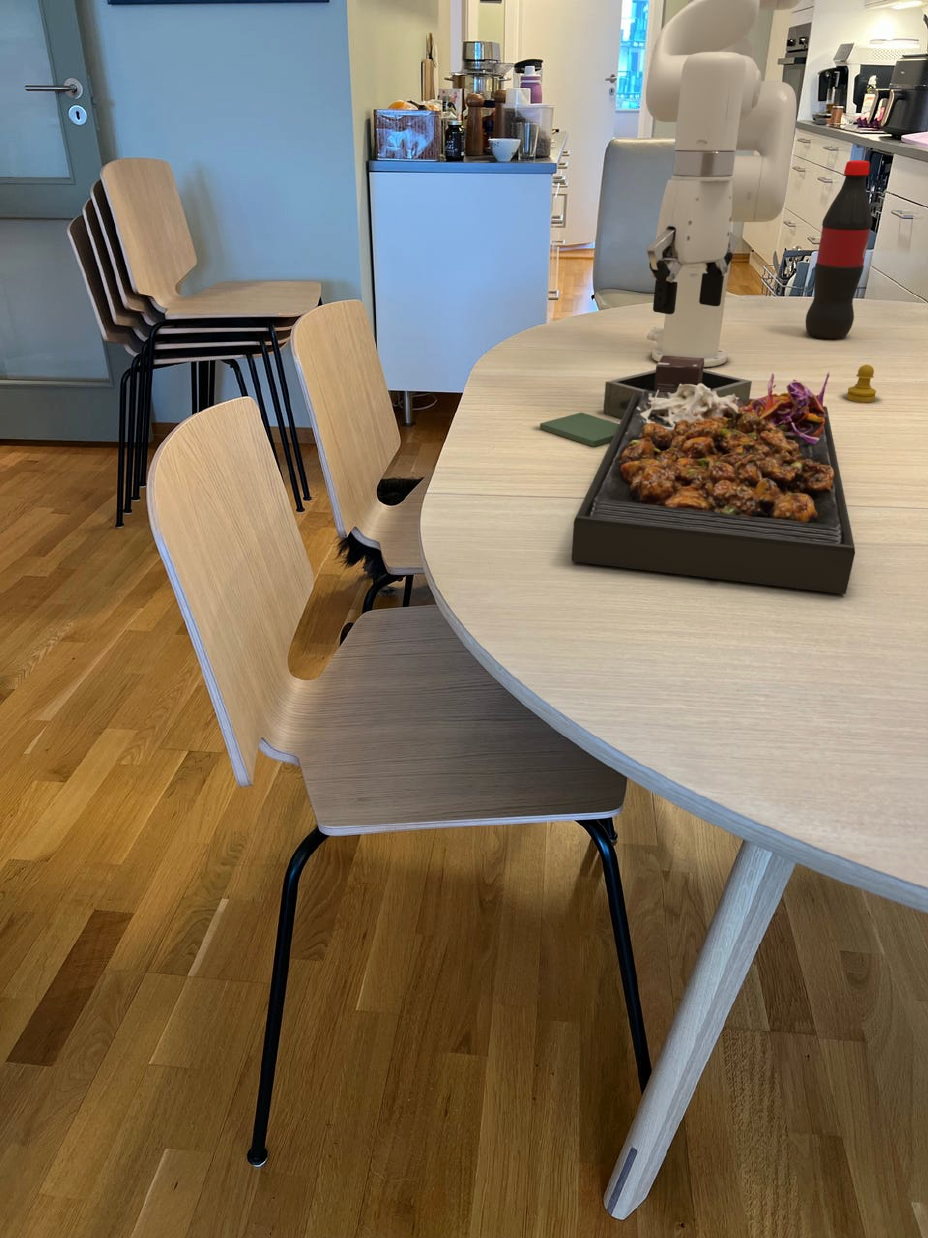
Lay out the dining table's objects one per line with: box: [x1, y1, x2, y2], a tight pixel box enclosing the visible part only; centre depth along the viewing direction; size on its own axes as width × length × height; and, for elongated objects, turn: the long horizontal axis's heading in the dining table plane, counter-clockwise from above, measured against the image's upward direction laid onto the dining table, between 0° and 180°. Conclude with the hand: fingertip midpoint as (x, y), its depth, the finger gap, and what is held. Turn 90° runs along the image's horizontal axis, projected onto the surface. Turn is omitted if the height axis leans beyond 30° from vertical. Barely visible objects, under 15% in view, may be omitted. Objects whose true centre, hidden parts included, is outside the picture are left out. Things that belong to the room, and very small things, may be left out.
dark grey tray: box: [602, 369, 753, 420], centre depth 130 cm, size 13×16×4 cm
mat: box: [539, 411, 620, 448], centre depth 123 cm, size 10×8×1 cm
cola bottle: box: [805, 159, 873, 340], centre depth 168 cm, size 8×8×30 cm
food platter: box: [570, 371, 856, 595], centre depth 101 cm, size 45×25×10 cm, turn 164°
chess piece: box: [846, 364, 877, 403], centre depth 136 cm, size 4×4×5 cm
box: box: [654, 355, 705, 393], centre depth 129 cm, size 6×6×7 cm
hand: (686, 308), depth 124 cm, fingers open, 9 cm apart
